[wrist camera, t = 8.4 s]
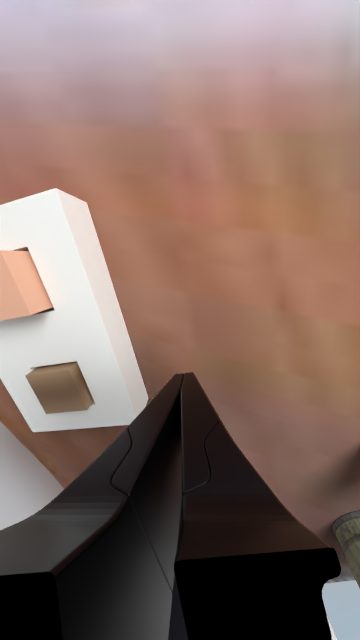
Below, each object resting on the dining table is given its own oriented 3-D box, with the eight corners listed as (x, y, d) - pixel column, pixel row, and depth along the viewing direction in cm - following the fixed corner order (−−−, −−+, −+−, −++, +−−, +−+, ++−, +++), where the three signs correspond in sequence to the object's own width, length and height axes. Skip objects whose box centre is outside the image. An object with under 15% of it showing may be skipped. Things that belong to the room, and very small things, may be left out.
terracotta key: (64, 303, 19) (31, 315, 15) (23, 311, 19) (-20, 324, 16) (43, 251, 17) (0, 250, 13) (-1, 262, 18) (-54, 264, 14)
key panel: (148, 397, 24) (139, 424, 21) (56, 407, 26) (32, 432, 23) (86, 202, 17) (55, 188, 13) (-33, 236, 19) (-88, 232, 16)
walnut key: (105, 384, 23) (87, 410, 19) (70, 388, 24) (46, 414, 20) (91, 349, 21) (68, 369, 18) (54, 355, 22) (25, 375, 18)
